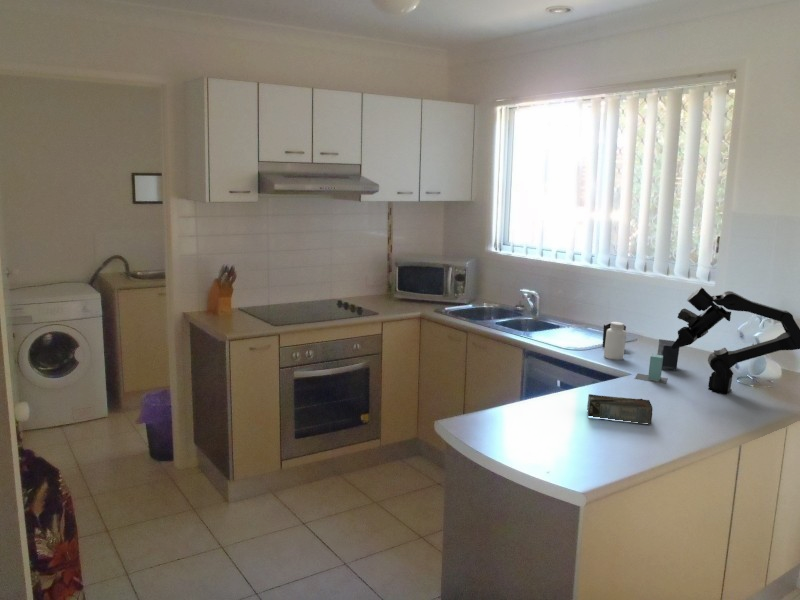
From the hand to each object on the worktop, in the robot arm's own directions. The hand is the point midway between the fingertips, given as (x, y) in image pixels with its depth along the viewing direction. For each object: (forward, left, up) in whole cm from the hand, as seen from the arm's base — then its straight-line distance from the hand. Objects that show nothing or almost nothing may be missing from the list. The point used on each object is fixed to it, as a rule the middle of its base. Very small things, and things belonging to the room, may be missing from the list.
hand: (676, 345), depth 247 cm
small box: (+9, -16, -14) cm, 23 cm away
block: (+5, +4, -13) cm, 15 cm away
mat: (+6, +4, -14) cm, 16 cm away
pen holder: (+38, -30, -14) cm, 50 cm away
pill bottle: (+30, -13, -14) cm, 35 cm away
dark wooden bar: (-3, +53, -14) cm, 55 cm away
